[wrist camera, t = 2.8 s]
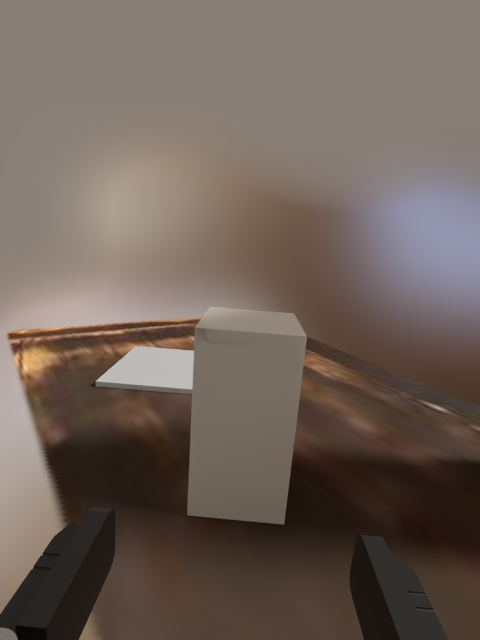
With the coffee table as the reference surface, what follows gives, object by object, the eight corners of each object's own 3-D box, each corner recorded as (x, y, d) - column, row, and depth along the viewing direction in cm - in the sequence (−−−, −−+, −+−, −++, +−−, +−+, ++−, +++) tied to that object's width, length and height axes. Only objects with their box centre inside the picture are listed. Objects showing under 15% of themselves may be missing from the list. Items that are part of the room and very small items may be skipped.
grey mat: (136, 350, 50) (136, 346, 50) (223, 357, 50) (223, 353, 49) (95, 386, 37) (95, 381, 37) (212, 396, 37) (212, 391, 37)
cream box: (201, 455, 27) (209, 307, 24) (277, 462, 26) (293, 313, 24) (187, 515, 21) (195, 327, 18) (284, 524, 21) (306, 336, 18)
